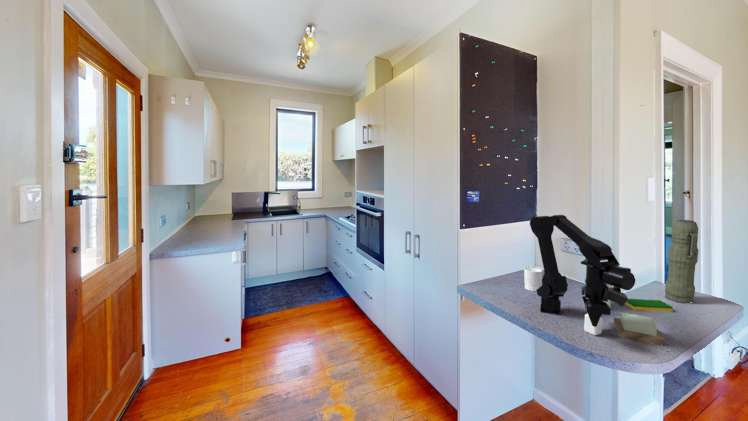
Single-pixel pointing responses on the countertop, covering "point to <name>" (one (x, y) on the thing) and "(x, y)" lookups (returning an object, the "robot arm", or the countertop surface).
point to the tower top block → (638, 324)
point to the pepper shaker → (590, 328)
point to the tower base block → (638, 334)
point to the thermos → (682, 262)
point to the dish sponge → (648, 305)
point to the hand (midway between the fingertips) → (593, 322)
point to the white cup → (532, 278)
